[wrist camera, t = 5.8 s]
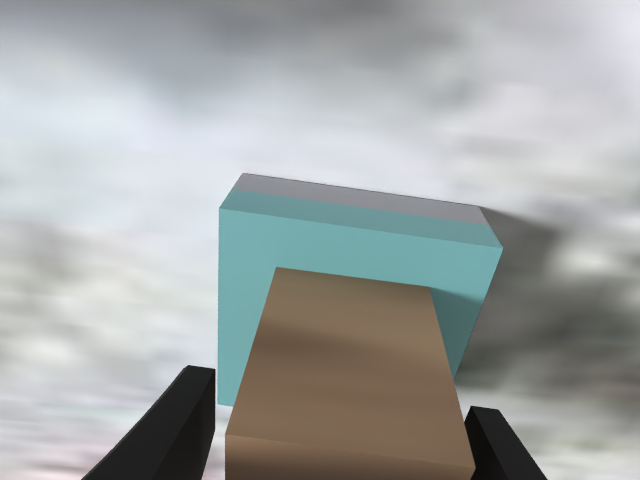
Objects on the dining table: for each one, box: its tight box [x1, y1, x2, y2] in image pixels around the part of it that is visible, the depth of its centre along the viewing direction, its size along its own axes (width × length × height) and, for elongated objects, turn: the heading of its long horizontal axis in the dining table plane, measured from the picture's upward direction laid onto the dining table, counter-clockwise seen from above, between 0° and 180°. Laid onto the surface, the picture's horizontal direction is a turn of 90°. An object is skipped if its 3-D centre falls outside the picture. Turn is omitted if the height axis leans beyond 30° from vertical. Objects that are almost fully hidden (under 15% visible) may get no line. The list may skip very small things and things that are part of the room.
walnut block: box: [225, 267, 476, 480], centre depth 10 cm, size 4×4×5 cm
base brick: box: [218, 173, 504, 407], centre depth 13 cm, size 7×7×2 cm
